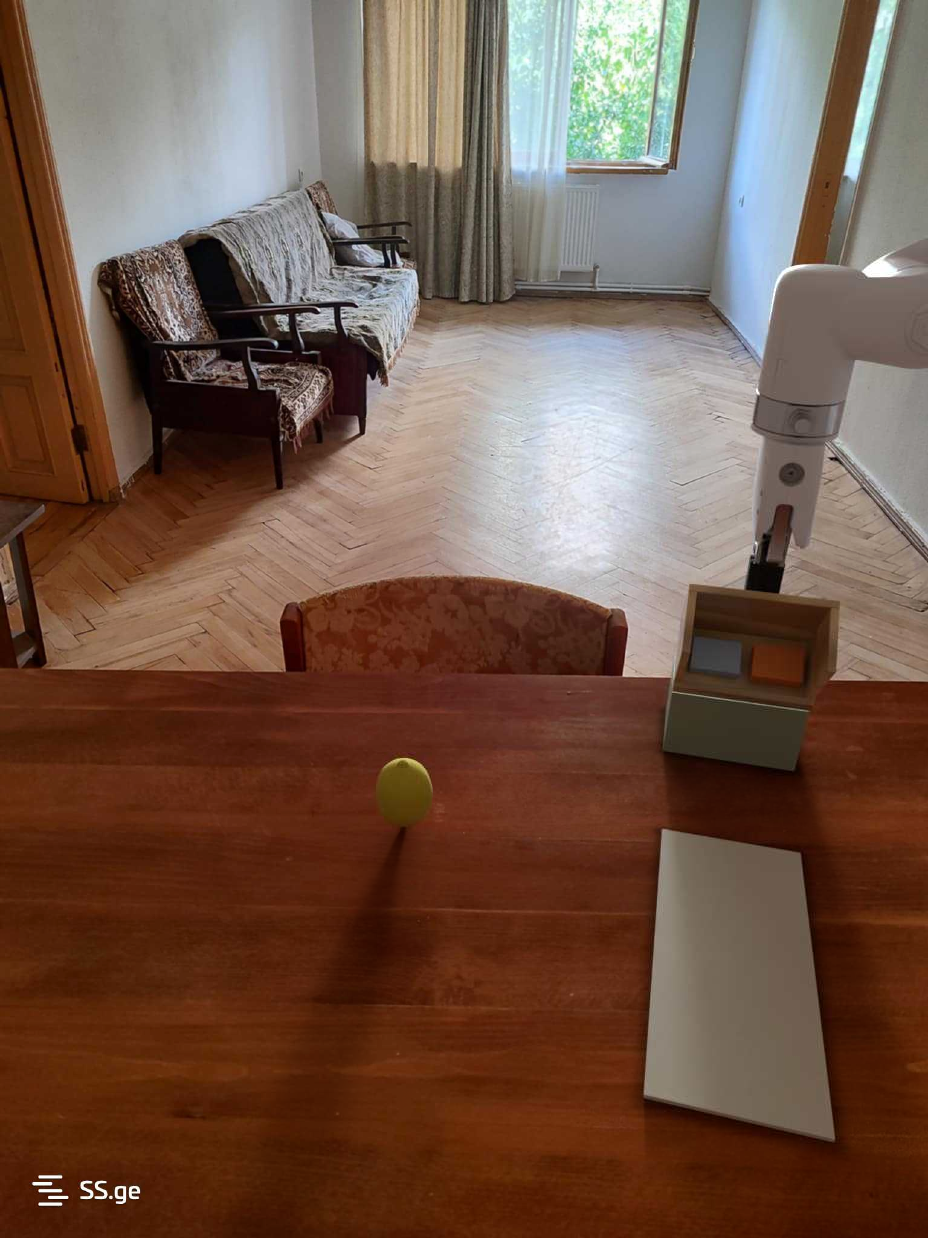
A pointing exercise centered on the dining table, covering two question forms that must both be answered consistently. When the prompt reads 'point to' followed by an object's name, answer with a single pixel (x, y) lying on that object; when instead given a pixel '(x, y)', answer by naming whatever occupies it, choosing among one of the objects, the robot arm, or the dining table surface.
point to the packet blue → (715, 657)
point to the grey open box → (733, 730)
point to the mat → (736, 988)
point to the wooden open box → (758, 642)
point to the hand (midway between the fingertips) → (760, 595)
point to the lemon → (403, 792)
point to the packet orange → (776, 665)
